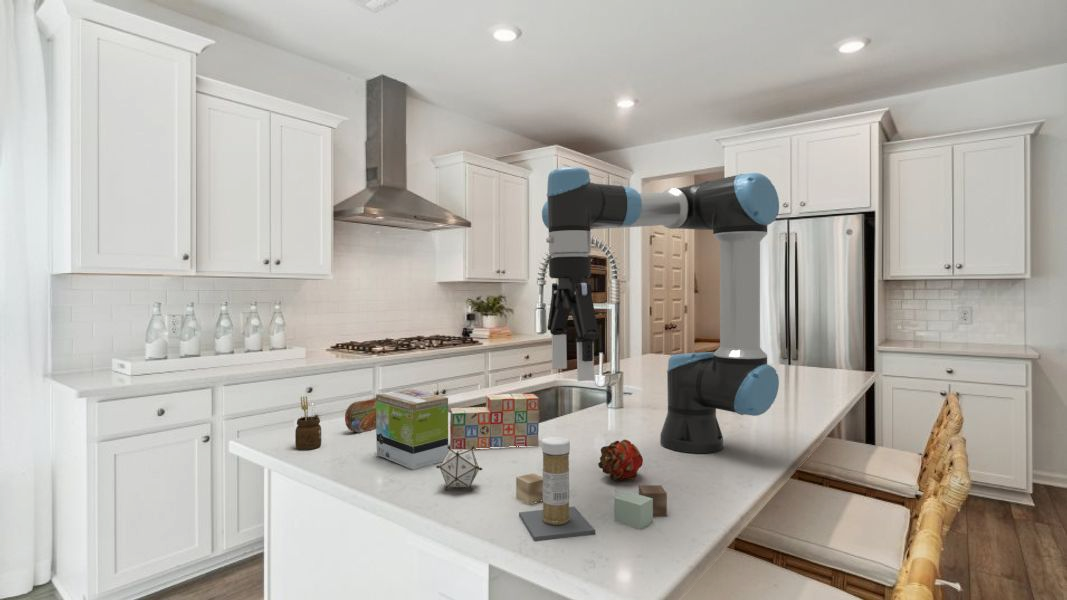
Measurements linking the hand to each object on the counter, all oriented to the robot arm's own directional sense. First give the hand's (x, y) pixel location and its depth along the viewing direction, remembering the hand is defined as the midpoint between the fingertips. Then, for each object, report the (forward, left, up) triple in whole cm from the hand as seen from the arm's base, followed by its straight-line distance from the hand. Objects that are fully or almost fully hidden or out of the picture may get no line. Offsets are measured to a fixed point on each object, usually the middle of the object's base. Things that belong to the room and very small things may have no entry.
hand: (571, 374), depth 102 cm
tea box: (+26, -35, -24) cm, 50 cm away
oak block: (+6, -4, -24) cm, 25 cm away
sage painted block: (-8, +10, -24) cm, 27 cm away
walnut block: (-13, +7, -24) cm, 28 cm away
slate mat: (+5, +8, -23) cm, 25 cm away
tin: (+36, -66, -24) cm, 79 cm away
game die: (+18, -13, -24) cm, 33 cm away
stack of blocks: (+6, -41, -24) cm, 48 cm away
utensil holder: (+50, -51, -24) cm, 75 cm away
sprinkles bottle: (+5, +8, -23) cm, 25 cm away
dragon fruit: (-15, -11, -24) cm, 30 cm away
